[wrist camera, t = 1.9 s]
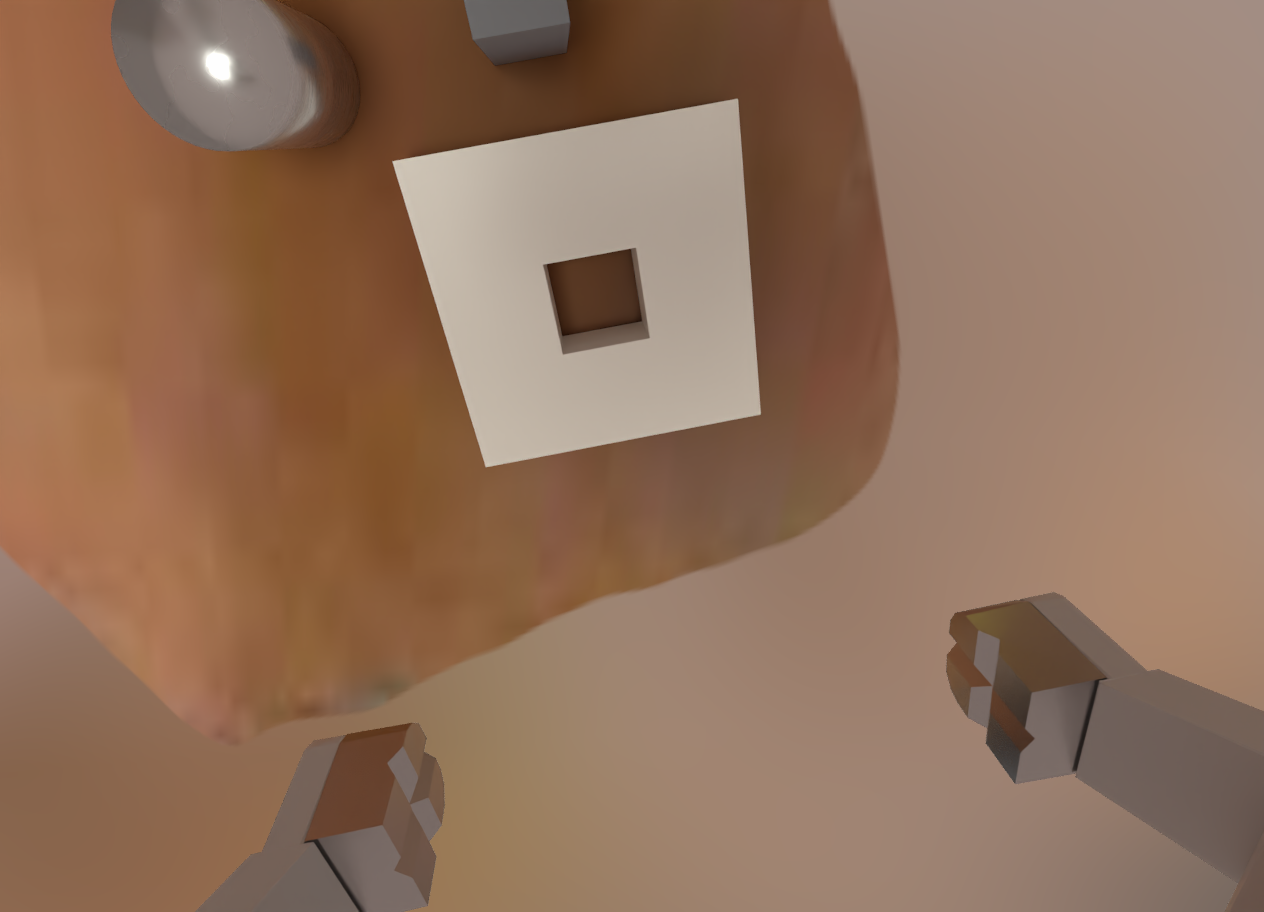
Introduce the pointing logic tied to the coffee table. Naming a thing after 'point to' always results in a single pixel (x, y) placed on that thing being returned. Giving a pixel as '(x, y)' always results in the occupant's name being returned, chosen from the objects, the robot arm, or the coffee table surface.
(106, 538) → the coffee table surface
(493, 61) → the square peg
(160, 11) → the round peg
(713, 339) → the socket block
